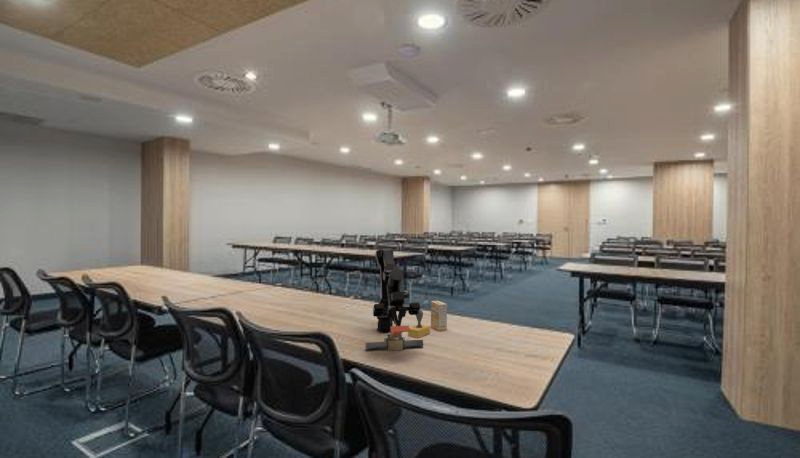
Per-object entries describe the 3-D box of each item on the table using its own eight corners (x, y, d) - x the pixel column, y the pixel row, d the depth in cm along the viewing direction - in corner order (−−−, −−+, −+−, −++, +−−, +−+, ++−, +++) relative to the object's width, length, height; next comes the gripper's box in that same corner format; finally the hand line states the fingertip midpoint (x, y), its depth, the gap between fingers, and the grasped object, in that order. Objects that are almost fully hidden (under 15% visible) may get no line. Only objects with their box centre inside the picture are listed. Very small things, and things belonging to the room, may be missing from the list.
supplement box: (430, 326, 194) (430, 301, 193) (438, 325, 196) (438, 300, 195) (438, 331, 186) (438, 304, 186) (447, 330, 188) (447, 303, 188)
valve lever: (385, 333, 162) (391, 326, 148) (402, 332, 163) (409, 325, 150) (386, 338, 161) (391, 331, 147) (402, 337, 162) (409, 330, 149)
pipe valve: (365, 348, 162) (365, 334, 162) (421, 344, 166) (421, 331, 166) (366, 352, 157) (366, 338, 157) (423, 348, 161) (423, 335, 161)
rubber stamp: (417, 338, 175) (417, 312, 175) (407, 336, 179) (407, 310, 179) (430, 333, 183) (430, 308, 182) (420, 331, 187) (420, 306, 186)
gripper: (373, 283, 154) (377, 318, 144) (419, 282, 158) (426, 316, 147) (371, 299, 162) (374, 333, 152) (415, 297, 166) (420, 330, 155)
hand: (399, 328), depth 151 cm, fingers closed, pressing on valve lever
